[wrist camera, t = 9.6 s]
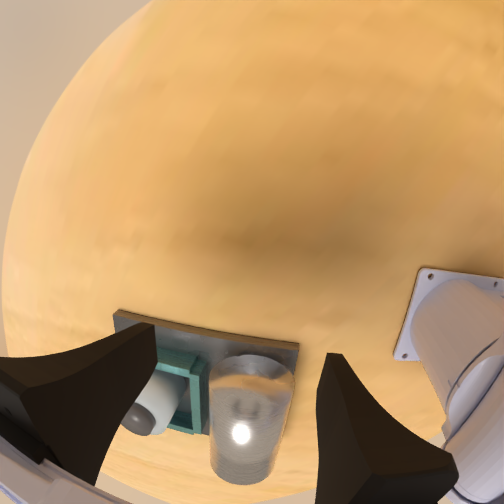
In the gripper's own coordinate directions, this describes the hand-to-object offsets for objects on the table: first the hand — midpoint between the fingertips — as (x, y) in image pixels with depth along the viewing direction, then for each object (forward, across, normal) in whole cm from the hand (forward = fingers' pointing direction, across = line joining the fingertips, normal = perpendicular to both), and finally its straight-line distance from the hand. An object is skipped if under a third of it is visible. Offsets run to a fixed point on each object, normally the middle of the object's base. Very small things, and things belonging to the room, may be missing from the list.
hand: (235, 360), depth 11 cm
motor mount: (+10, +5, +12) cm, 17 cm away
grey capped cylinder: (+9, +8, +12) cm, 17 cm away
